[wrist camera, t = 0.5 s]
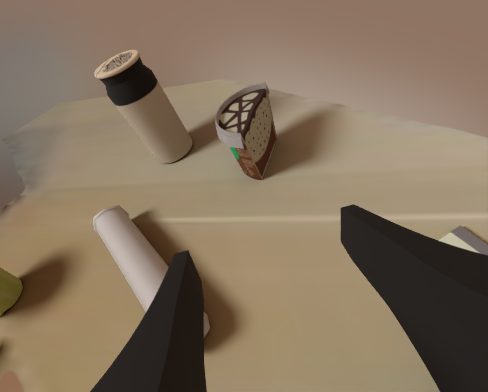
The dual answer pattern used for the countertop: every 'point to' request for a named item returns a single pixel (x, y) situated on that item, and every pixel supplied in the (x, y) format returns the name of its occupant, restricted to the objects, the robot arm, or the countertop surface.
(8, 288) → the plant pot
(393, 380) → the countertop surface
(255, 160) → the food container
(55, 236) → the countertop surface
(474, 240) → the notepad
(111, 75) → the travel mug
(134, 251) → the tube
